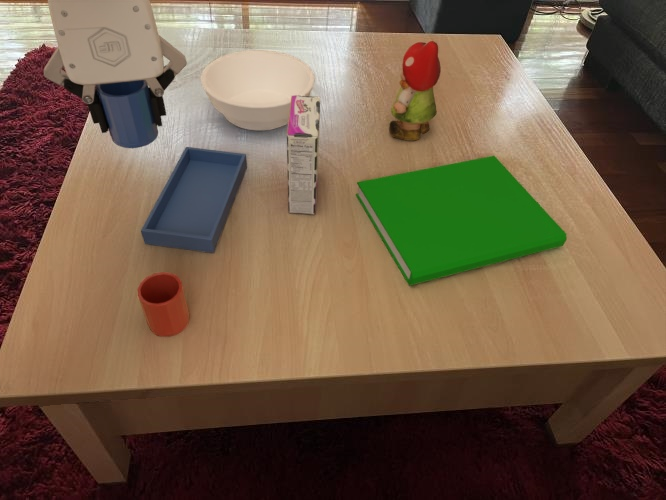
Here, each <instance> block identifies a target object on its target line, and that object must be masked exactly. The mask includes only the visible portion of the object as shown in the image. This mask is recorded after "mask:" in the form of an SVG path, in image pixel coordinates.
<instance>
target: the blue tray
mask: <svg viewBox="0 0 666 500" xmlns="http://www.w3.org/2000/svg"><path fill="white" fill-rule="evenodd" d="M247 161H248V160H247V153H241V152H231V151H225V150H224V151H223V150H214V149H208V148H199V147H193V146H192V147H191V146H185V148H184V149H183V151H182V153H181V154H180V157H179V159H178V161H177V163H176V165H175V166H174V168H173V170H172V172H171V174H170V175H169V177H168V178H167V181H166V183H165V184H164V186H163V189H162V191H161V192H160V194H159V196H158V198H157V200H156V201H155V204H154V205H153V207H152V209H151V211H150V212H149V215H148V216H147V218H146V219H145V221H144V224H143V226H141V227H142V228H141V229H140V233H141V236H142V240H143V243H144V245H148V246H149V245H150V246H157V247H165V248H172V249H178V250H179V249H180V250H187V251H195V252H203V253H209V254H215V252H216V249H217V246H218V244H219V241H220V238H221V236H222V233H223V231H224V228H225V225H226V223H227V220H228V218H229V216H230V212H231V209H232V207H233V205H234V202H235V199H236V197H237V194H238V192H239V189H240V187H241V184H242V181H243V179H244V176H245V174H246V171H247V169H248V162H247Z"/></svg>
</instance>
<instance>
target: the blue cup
mask: <svg viewBox="0 0 666 500" xmlns="http://www.w3.org/2000/svg"><path fill="white" fill-rule="evenodd" d="M95 89H96V90H97V93H98V96H99V100H100V102H101V106H102V109H103V112H104V116H105V119H106V122H107V126H108V132H109V135H110V138H111V141H112V143H114V145H116V146H118V147H121V148H125V149H139V148H142V147H146V146H148V145H150V144H152V143H153V142H155V141H156V140H157V138H158V136H159V128H158V125H157V126H156V122H155V118H154V113H153V109H152V104H151V100H150V92H149V86H148V84H147V83H146V81H145V80H138V81H128V82H118V83H108V84H96V86H95Z"/></svg>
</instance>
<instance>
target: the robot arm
mask: <svg viewBox="0 0 666 500" xmlns="http://www.w3.org/2000/svg"><path fill="white" fill-rule="evenodd" d="M47 4H48V10H49V15H50V20H51V23H52V28H53V32H54V35H55V39H56V44H57V47H56V49H55V50H54V52H53V53H52V54H51V57H50V58H49V60H48V61H47V63H46V65H45V66H44V69H43V76H44V78H45V79H47V80H49V81H51V82H52V83H55V84H56V85H58V86H61V87H63V88H64V89H65V91H68V92H69V93H71V94H72V95H74V96H77V97H78V98H79V99H81V100H82V102H83V103H84V104H86V105H87V107H88V111H89V113H90V116H91V119H92V122H93V125H94V124H98V125H99V127H100V131H101V133H102V134H106V133H108V132H109V129H108V126H107V122H106V119H105V116H104V112H103V109H102V106H101V102H100V100H99V96H98V93H97V90H96V84H108V83H118V82H128V81H138V80H145V81H146V83H147V84H148V87H149V92H150V100H151V104H152V109H153V113H154V118H155V122H156V126H157V127H163V120H162V117H164V116H165V117H166V116H167V111H166V110H167V109H166V106H165V101H164V94H165V91H166V90H167V88H168V87H169V86H170V85H171V84H172V82H173V81H174V80H175V79H176V76H177V75H179V73H180V72H182V70H184V69H185V67H186V66H187V64H188V63H187V58H186V56H185V55H184V54H183V53H182V52H181V51H180V50H178V49H177V48H176V47H175V46H173V45H172V43H170V42H169V41H167V40H166V39H165V38H164V37H162V36H161V35H160V34H159V31H158V26H157V22H156V18H155V14H154V9H153V8H152V3H151V1H150V0H47ZM164 58H166V60H168V61H169V62H168V63H167V64H164V63H165V62H164V61H165V60H164ZM63 68H64V70H63Z"/></svg>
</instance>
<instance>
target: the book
mask: <svg viewBox="0 0 666 500" xmlns="http://www.w3.org/2000/svg"><path fill="white" fill-rule="evenodd" d="M356 184H357V186H358V192H356V193H355V197H356V198H357V200H358V201H359V203H360V205H361V206H362V208H363V210H364V212H365V213H366V215H367V217H368V219H369V220H370V222H371V224H372V225H373V227H374V228H375V230H376V232H377V234H378V236H379V238H380V239H381V240H382V242H383V244H384V246H385V247H386V249H387V251H388V253H389V254H390V256H391V257H392V259H393V260H394V262H395V265H396V266H397V268H398V269H399V271H400V273H401V274H402V276H403V278H404V280H405V281H406V283H407V285H408V286H412V285H416V284H421V283H425V282H428V281H432V280H436V279H441V278H444V277H448V276H451V275H455V274H456V275H457V274H459V273H463V272H468V271H471V270H476V269H478V268H483V267H487V266H490V265H494V264H498V263H502V262H505V261H506V262H507V261H509V260H510V261H511V260H514V259H517V258H522V257H525V256H529V255H532V254H537V253H540V252H541V253H542V252H544V251H547V250H548V251H549V250H551V249H555V248H556V249H557V248H560V247H563V246H564V245H565V243H566V242H567V237H568V236H567V232H566V231H565V230H564V229H562V227H561V226H560V225H559V224H558V223H557V222H556V221H555V220H554V218H552V217H551V216H550V214H549V213H548V212H547V211H546V210H545V209H544V208H543V207H542V205H540V203H539V202H538V201H537V200H536V198H534V197H533V196H532V195H531V194H530V193H529V191H528V190H527V189H526V187H524V186H523V185H522V184H521V183H520V182H519V181H518V179H517V178H516V177H515V176H514V175H513V174H512V173H511V172H510V171H509V170H508V169H507V167H506V166H505V165H504V164H503V163H502V161H500V160H499V159H498V158H497V157H496V155H490V156H485V157H480V158H473V159H470V160H464V161H459V162H453V163H449V164H444V165H438V166H433V167H428V168H423V169H417V170H412V171H407V172H402V173H397V174H392V175H385V176H380V177H376V178H375V177H374V178H371V179H364V180H360V181H357V182H356Z"/></svg>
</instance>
